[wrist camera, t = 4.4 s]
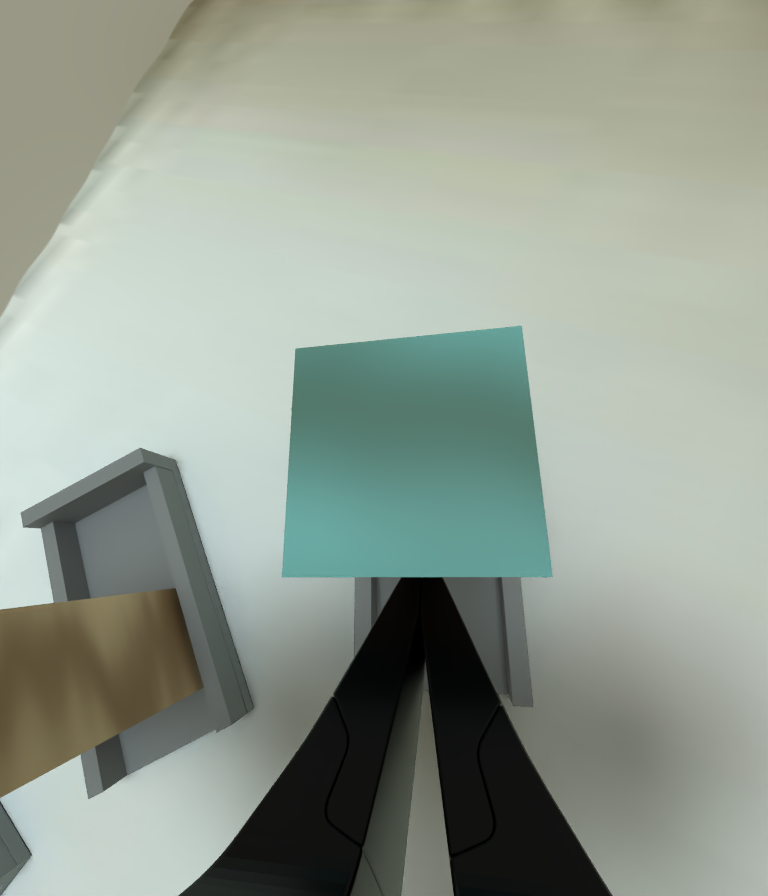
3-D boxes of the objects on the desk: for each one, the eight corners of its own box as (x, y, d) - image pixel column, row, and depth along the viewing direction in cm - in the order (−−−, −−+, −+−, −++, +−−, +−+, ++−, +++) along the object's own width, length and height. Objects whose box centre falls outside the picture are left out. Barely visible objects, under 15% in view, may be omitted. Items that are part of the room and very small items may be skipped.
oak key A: (487, 562, 16) (552, 577, 6) (385, 563, 17) (282, 577, 7) (479, 461, 18) (521, 325, 7) (384, 465, 18) (295, 348, 8)
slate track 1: (253, 707, 17) (221, 733, 15) (121, 776, 17) (68, 812, 15) (175, 459, 21) (139, 448, 19) (69, 517, 21) (20, 512, 19)
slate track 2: (525, 690, 15) (539, 716, 13) (361, 683, 16) (347, 705, 14) (497, 394, 19) (503, 371, 17) (363, 404, 20) (351, 384, 18)
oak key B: (212, 683, 17) (-170, 889, 7) (124, 728, 17) (-388, 1003, 7) (184, 587, 18) (-166, 630, 8) (103, 629, 18) (-347, 727, 8)
